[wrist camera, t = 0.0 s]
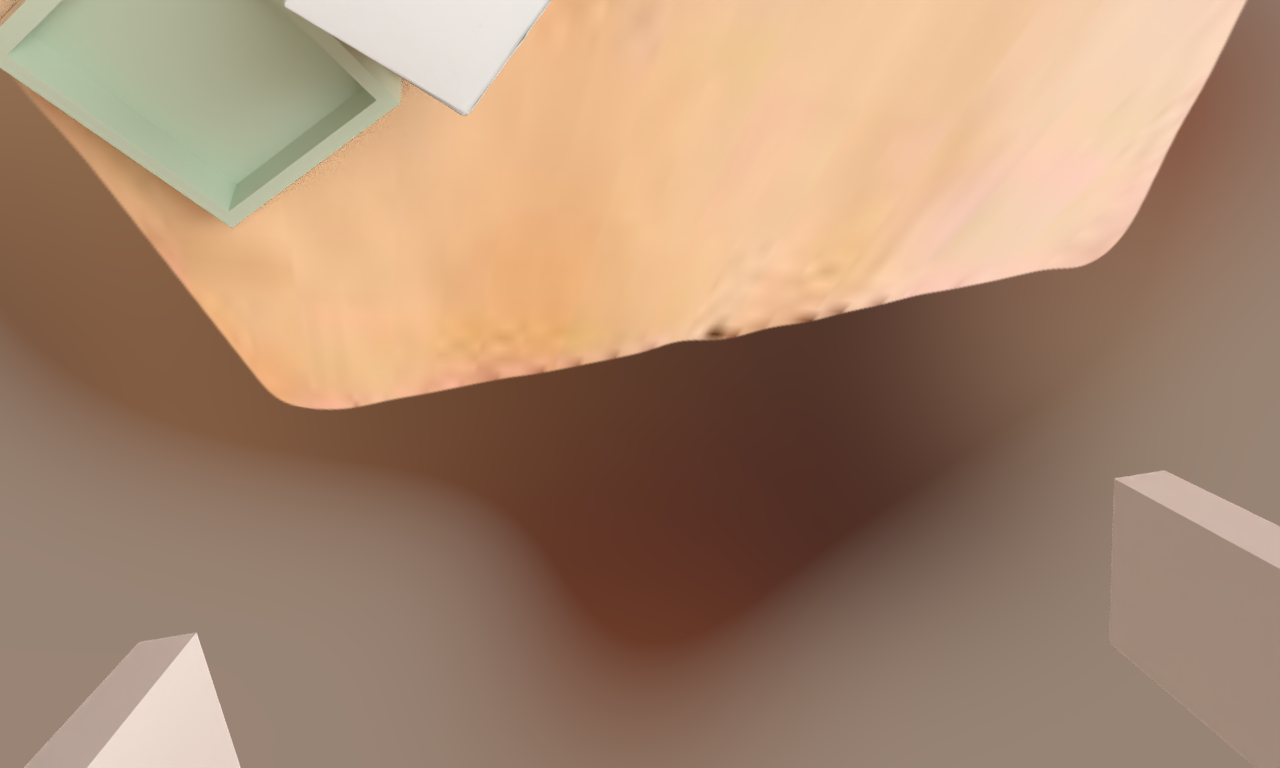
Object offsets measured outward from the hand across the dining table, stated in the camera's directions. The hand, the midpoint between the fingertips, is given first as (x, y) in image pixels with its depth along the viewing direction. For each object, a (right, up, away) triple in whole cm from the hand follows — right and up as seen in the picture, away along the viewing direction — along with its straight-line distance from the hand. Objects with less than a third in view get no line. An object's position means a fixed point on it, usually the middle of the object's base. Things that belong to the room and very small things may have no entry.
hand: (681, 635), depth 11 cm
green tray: (-22, +20, +27) cm, 40 cm away
